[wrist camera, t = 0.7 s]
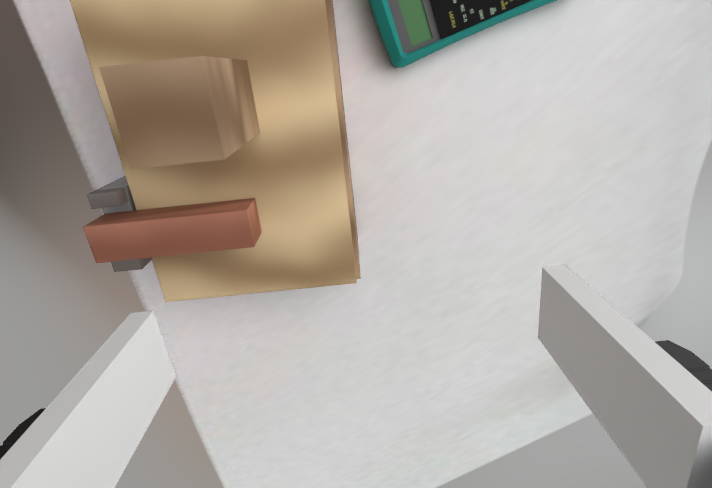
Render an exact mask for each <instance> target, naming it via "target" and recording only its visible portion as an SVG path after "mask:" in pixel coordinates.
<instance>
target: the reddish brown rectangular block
mask: <svg viewBox="0 0 712 488" xmlns="http://www.w3.org/2000/svg"><path fill="white" fill-rule="evenodd" d="M83 229H84V231H85V234H86V237H87V240H88V242H89V245H90V248H91V250H92V253H93V255H94V258H95V261H96V263H102V262H112V261H122V260H132V259H142V258H152V257H162V256H172V255H182V254H191V253H201V252H211V251H221V250H231V249H241V248H251V247H254V246H255V245H256V243H257V241H258V239H259V237H260V235H261V233H262V230H261V225H260V220H259V215H258V210H257V205H256V200H255V198H250V199H240V200H230V201H221V202H211V203H201V204H191V205H182V206H172V207H162V208H153V209H143V210H133V211H124V212H114V213H106V214H104V215H102V216H101V217H99V218H97V219H96V220H94V221H92V222H91V223H89V224H87V225H86V226H84V227H83Z"/></svg>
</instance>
